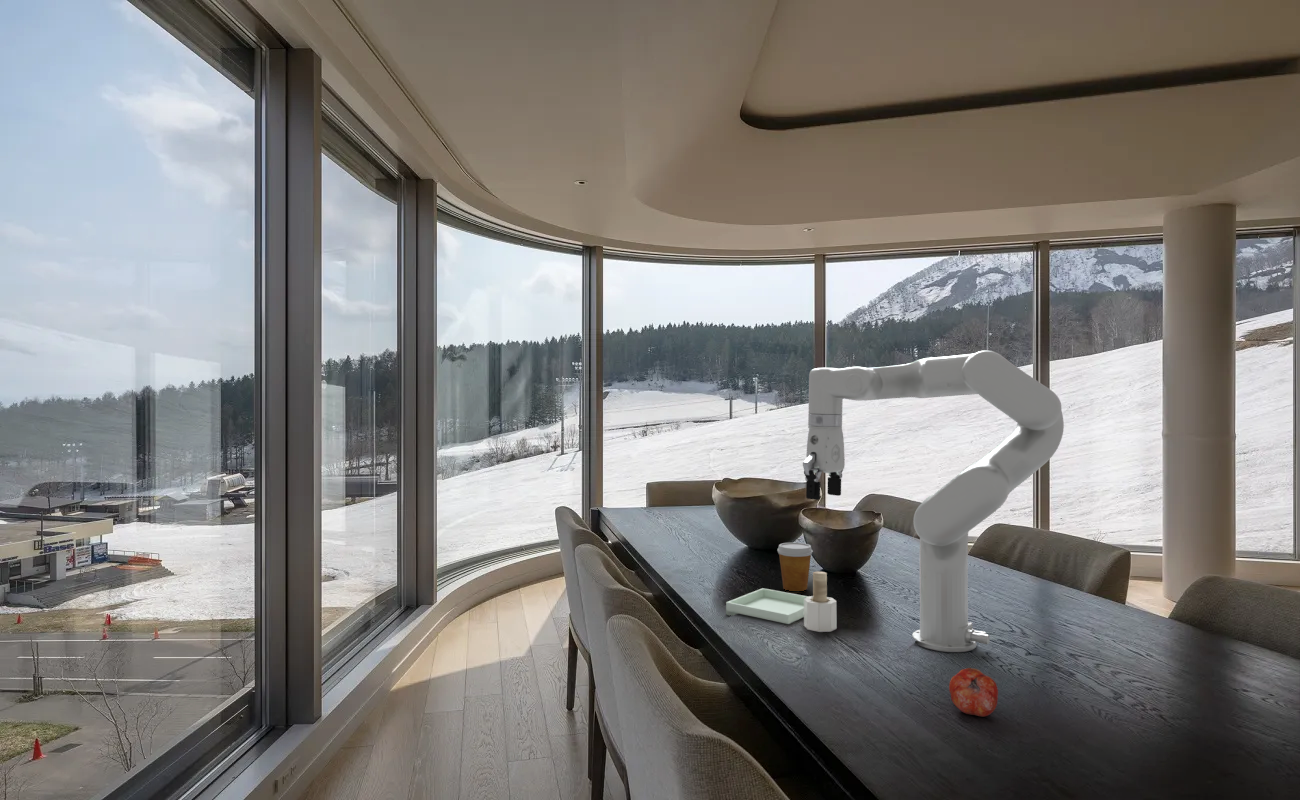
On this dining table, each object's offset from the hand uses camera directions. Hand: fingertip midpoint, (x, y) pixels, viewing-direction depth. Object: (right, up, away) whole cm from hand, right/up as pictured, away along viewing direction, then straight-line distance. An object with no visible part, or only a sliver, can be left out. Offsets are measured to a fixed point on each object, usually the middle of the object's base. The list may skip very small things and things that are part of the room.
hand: (823, 497), depth 166 cm
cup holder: (-2, -30, -3) cm, 30 cm away
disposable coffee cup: (0, -30, +33) cm, 44 cm away
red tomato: (+14, -30, -46) cm, 56 cm away
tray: (-9, -30, +11) cm, 33 cm away
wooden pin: (-2, -29, -3) cm, 29 cm away
